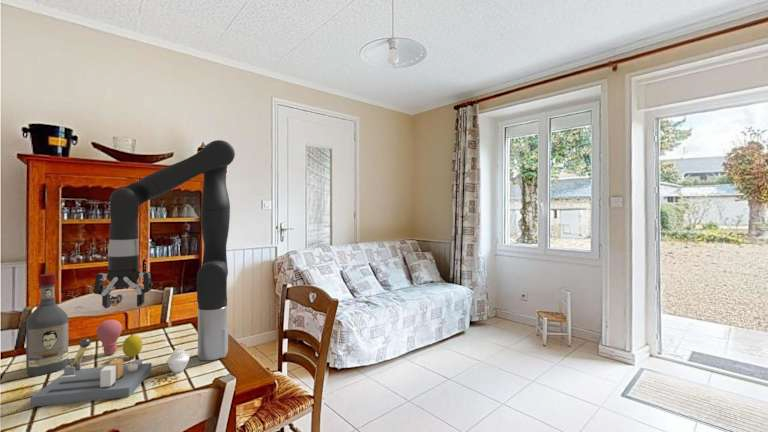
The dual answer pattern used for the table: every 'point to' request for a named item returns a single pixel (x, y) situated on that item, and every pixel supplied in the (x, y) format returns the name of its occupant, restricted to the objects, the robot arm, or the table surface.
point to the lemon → (132, 345)
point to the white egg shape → (178, 360)
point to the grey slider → (107, 376)
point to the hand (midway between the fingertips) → (123, 306)
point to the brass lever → (81, 352)
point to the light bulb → (109, 335)
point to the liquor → (46, 333)
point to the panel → (90, 385)
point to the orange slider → (117, 367)
